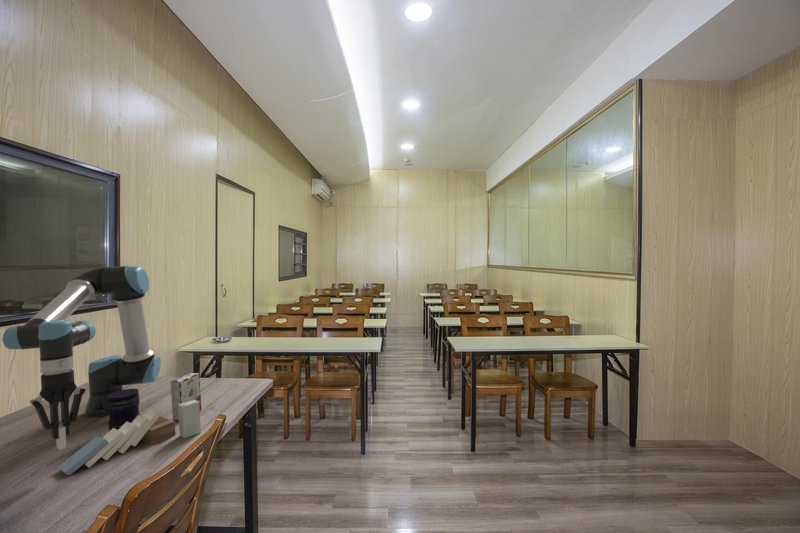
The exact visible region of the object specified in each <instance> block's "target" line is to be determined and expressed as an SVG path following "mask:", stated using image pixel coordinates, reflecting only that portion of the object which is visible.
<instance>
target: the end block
mask: <svg viewBox="0 0 800 533" xmlns="http://www.w3.org/2000/svg"><path fill="white" fill-rule="evenodd" d="M174 436H176V421H175V420H173V419H168V418H166V417H162V416H159V417H158V419H157V420H156V421H155V422H154V424H153V425H152V426H151V427H150V429H149V430H148V431H147V432H146V434H145V435H144V436H143V437H142V439H141V440H142V441H144V442H146V443H148V444H151V445H154V444H157V443H160V442H161V441H165V440H166V439H169V438H172V437H174ZM141 440H140V441H141Z"/></svg>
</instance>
